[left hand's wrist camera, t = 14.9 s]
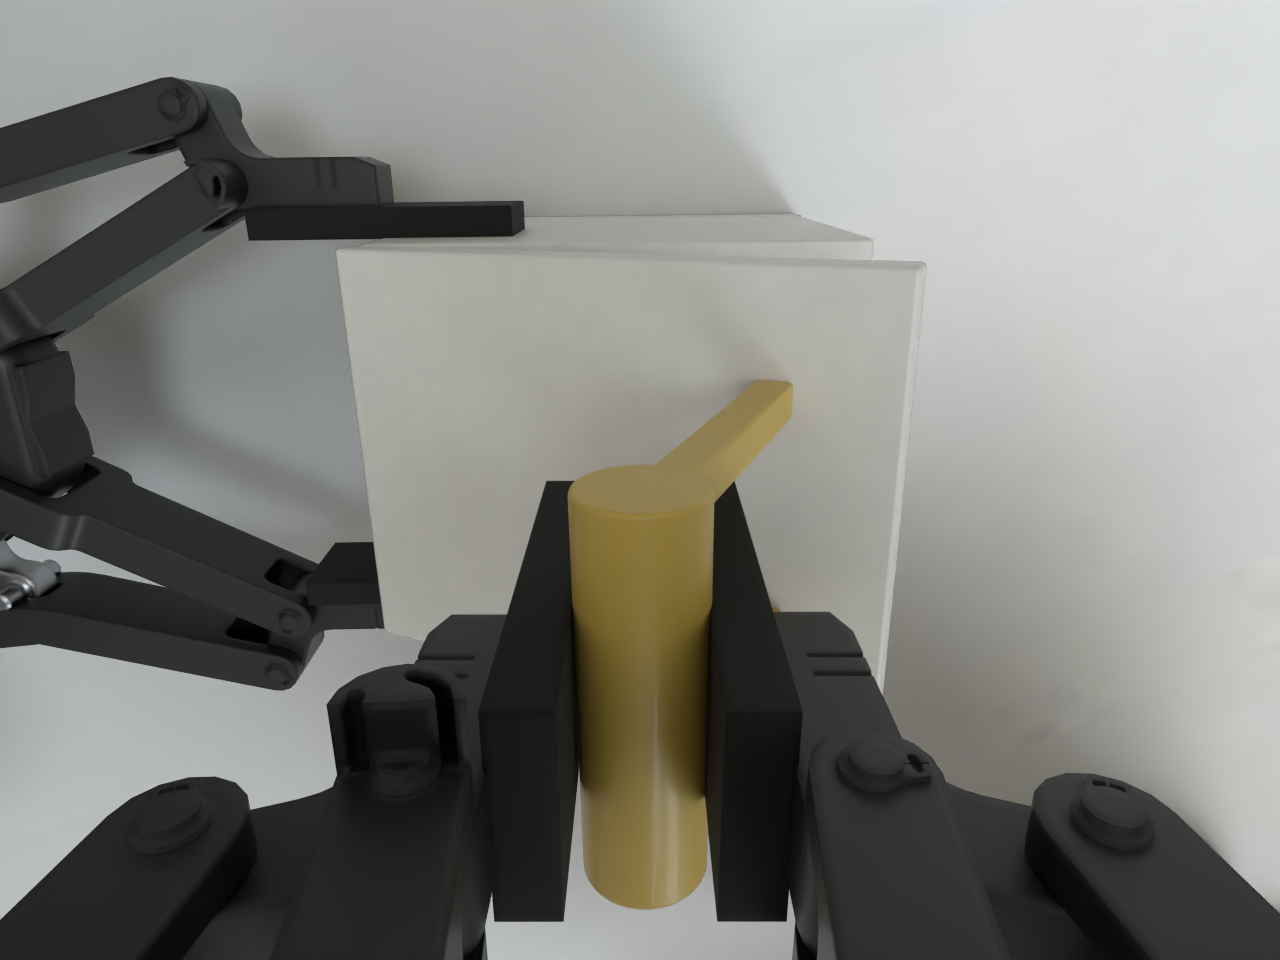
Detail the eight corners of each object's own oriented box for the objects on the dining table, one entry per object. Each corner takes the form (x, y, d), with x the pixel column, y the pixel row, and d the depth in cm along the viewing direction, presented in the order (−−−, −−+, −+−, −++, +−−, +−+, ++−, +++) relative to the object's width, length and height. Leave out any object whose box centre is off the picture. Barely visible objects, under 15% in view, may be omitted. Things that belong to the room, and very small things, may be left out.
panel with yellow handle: (927, 261, 15) (840, 353, 8) (880, 719, 18) (788, 1078, 11) (364, 244, 19) (-18, 293, 12) (408, 615, 23) (127, 821, 15)
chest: (795, 213, 29) (875, 237, 19) (782, 474, 32) (845, 608, 23) (450, 217, 29) (356, 244, 19) (472, 478, 32) (401, 613, 23)
